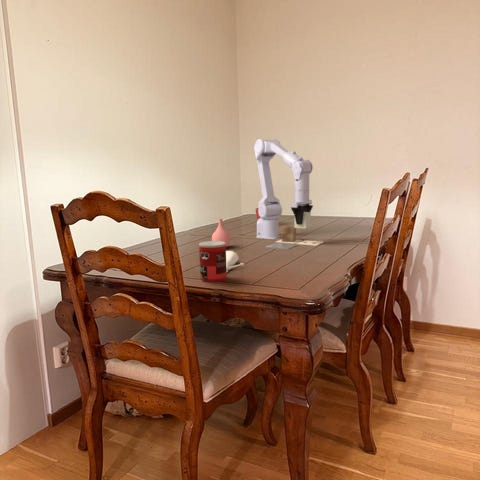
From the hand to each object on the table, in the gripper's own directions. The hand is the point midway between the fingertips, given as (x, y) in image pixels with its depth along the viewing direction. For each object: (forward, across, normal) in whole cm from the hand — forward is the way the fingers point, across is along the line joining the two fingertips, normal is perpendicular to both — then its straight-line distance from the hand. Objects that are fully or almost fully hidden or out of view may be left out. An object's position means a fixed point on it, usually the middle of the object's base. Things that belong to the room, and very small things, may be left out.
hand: (302, 223), depth 180 cm
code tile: (+9, +4, -2) cm, 10 cm away
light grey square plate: (+9, -8, +5) cm, 13 cm away
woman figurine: (+9, -47, +6) cm, 48 cm away
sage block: (+2, 0, 0) cm, 2 cm away
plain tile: (+9, +4, +8) cm, 12 cm away
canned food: (+9, -62, +1) cm, 62 cm away
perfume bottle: (+9, -21, +26) cm, 35 cm away
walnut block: (+9, +4, +8) cm, 12 cm away
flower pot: (+9, +39, +39) cm, 56 cm away
